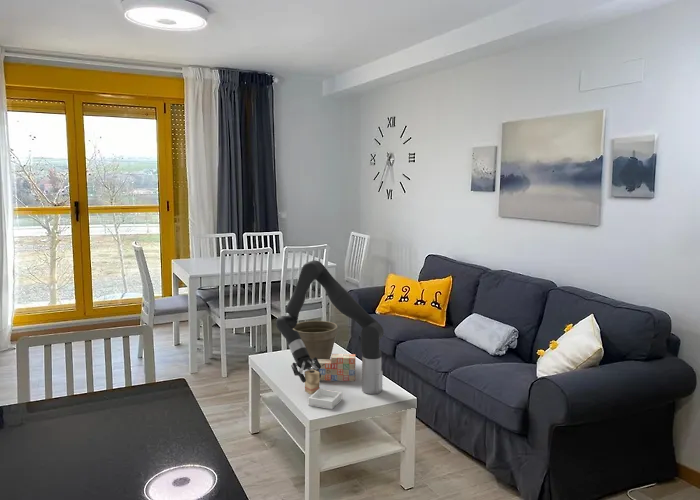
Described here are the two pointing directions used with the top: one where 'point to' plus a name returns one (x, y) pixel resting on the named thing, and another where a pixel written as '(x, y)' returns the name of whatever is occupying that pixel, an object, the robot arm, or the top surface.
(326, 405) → the white tray
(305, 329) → the plant pot
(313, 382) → the oak block
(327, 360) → the stack of blocks
